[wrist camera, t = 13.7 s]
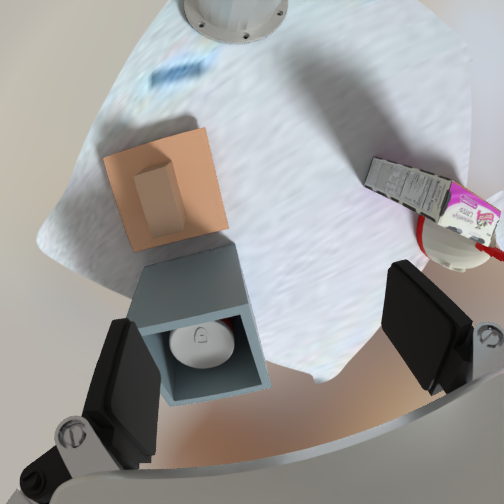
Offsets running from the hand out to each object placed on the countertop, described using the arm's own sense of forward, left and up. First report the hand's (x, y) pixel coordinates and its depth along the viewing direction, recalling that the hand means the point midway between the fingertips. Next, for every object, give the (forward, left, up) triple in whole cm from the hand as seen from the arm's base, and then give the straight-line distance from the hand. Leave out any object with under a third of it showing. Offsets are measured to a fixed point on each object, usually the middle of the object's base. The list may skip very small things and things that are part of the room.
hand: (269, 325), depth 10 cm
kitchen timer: (+15, +35, -29) cm, 48 cm away
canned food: (+16, -7, -29) cm, 33 cm away
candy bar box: (+6, +24, -29) cm, 38 cm away
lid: (0, -7, -29) cm, 30 cm away
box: (+16, -7, -28) cm, 33 cm away
